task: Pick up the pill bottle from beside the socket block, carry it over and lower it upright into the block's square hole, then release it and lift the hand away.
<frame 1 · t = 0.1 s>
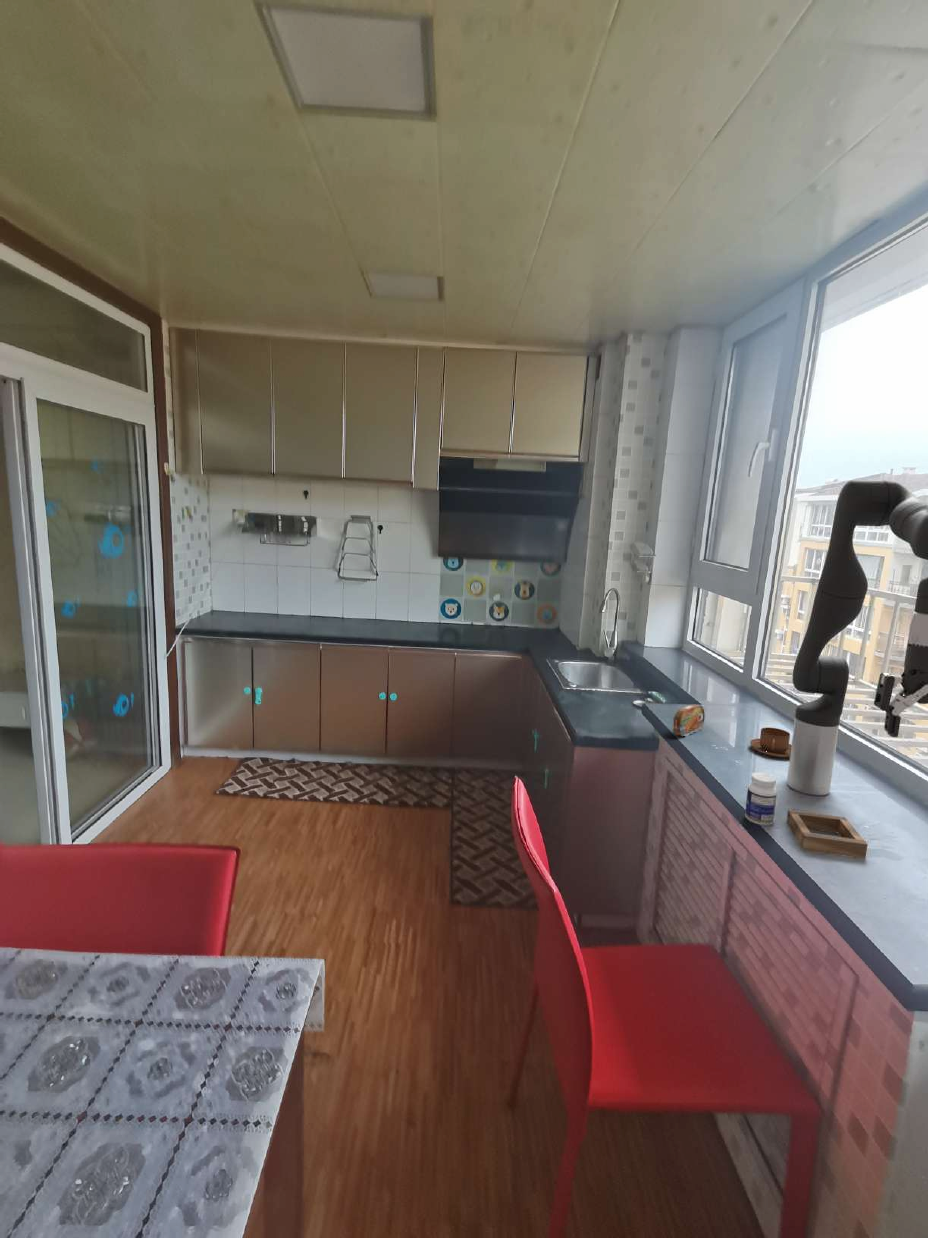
hand: (921, 738, 97), 29 cm above the table, tool pointing down, fingers open, 8 cm apart
socket block: (823, 839, 121), on the table
pill bottle: (758, 820, 129), on the table
tin: (687, 733, 181), on the table
cup and saucer: (772, 753, 168), on the table
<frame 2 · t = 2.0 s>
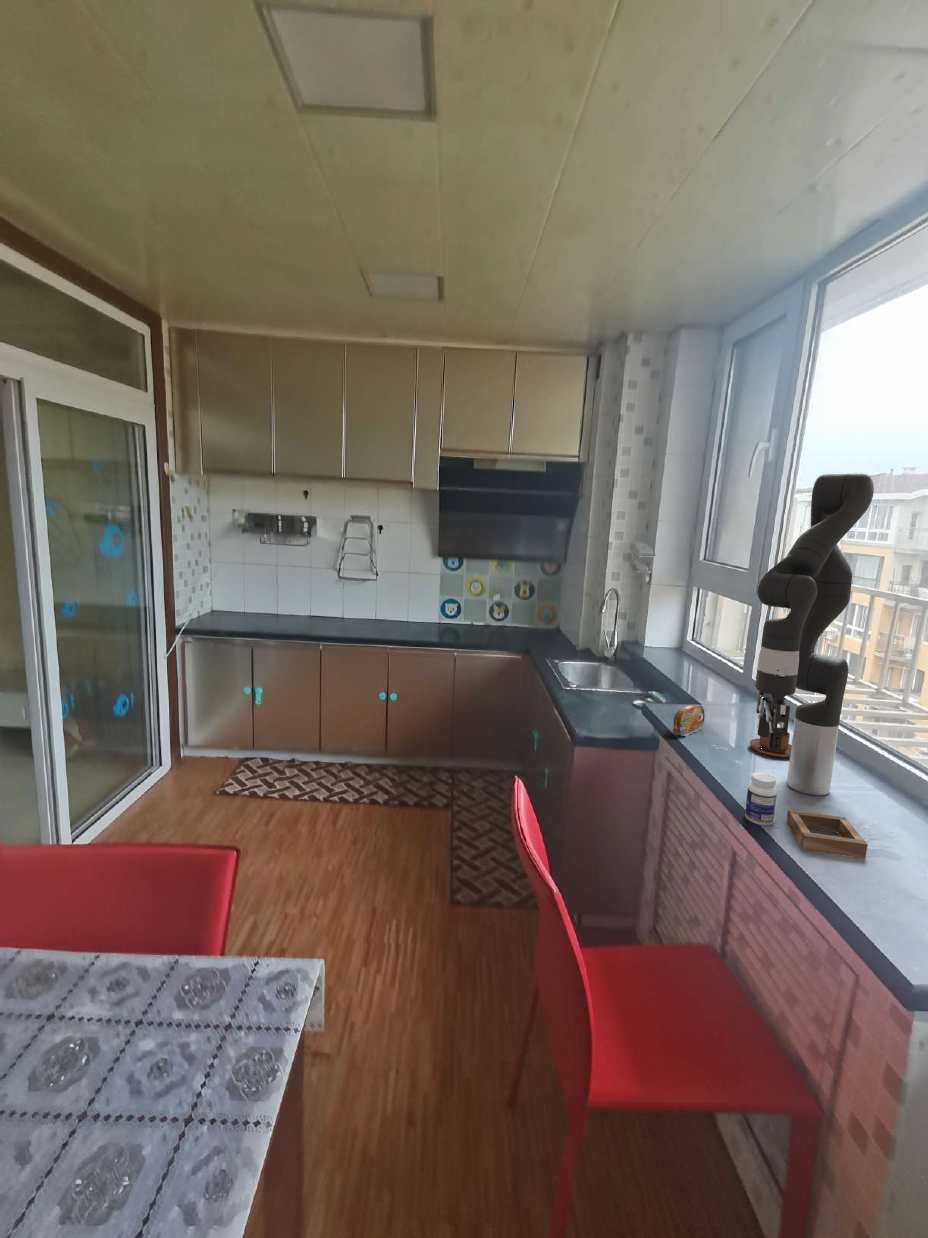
hand: (768, 743, 126), 17 cm above the table, tool pointing down, fingers open, 8 cm apart
nothing on the table moved.
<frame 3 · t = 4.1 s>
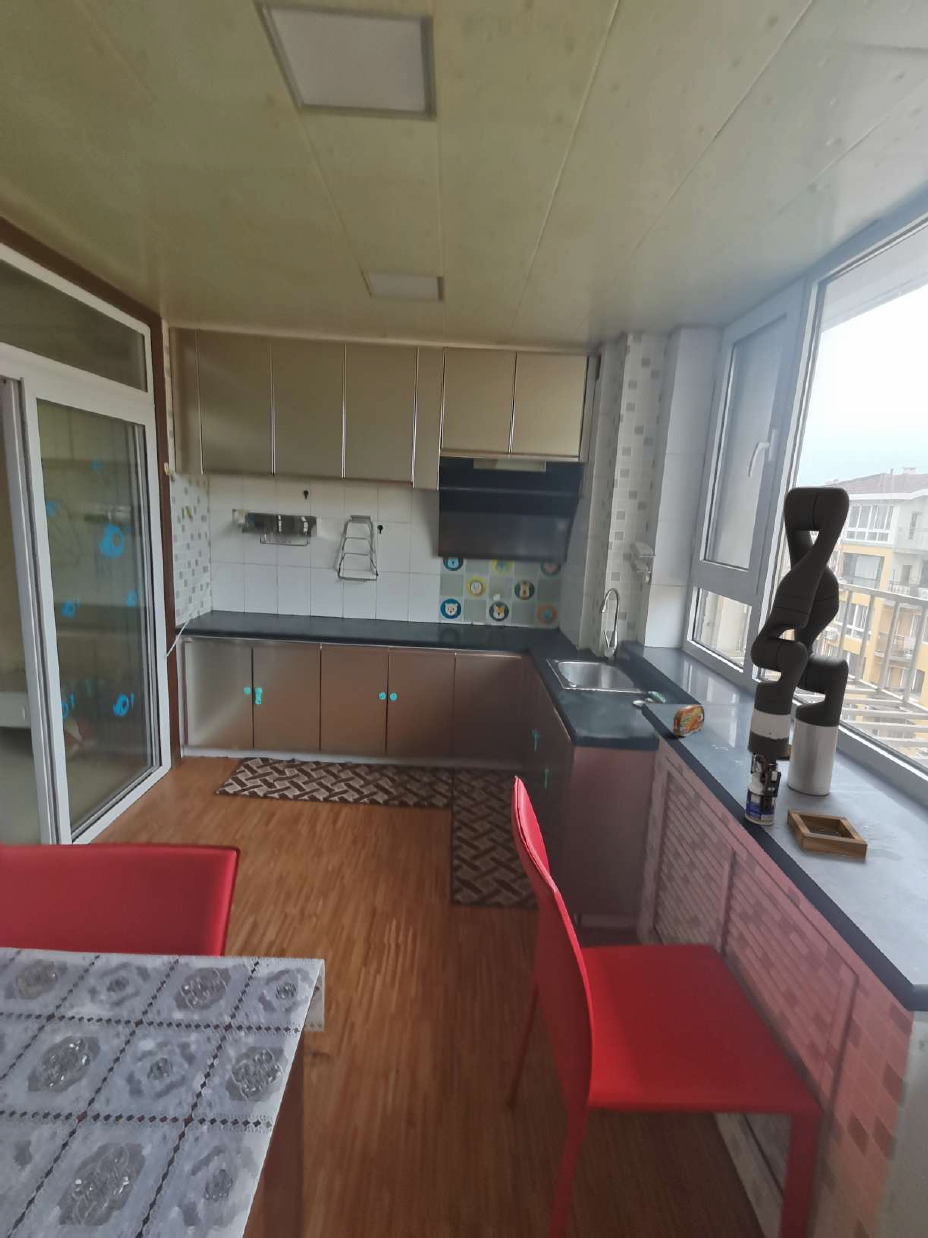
hand: (760, 804, 128), 4 cm above the table, tool pointing down, fingers closed on pill bottle, 5 cm apart
pill bottle: (758, 820, 129), on the table, touching gripper
everything else where it was.
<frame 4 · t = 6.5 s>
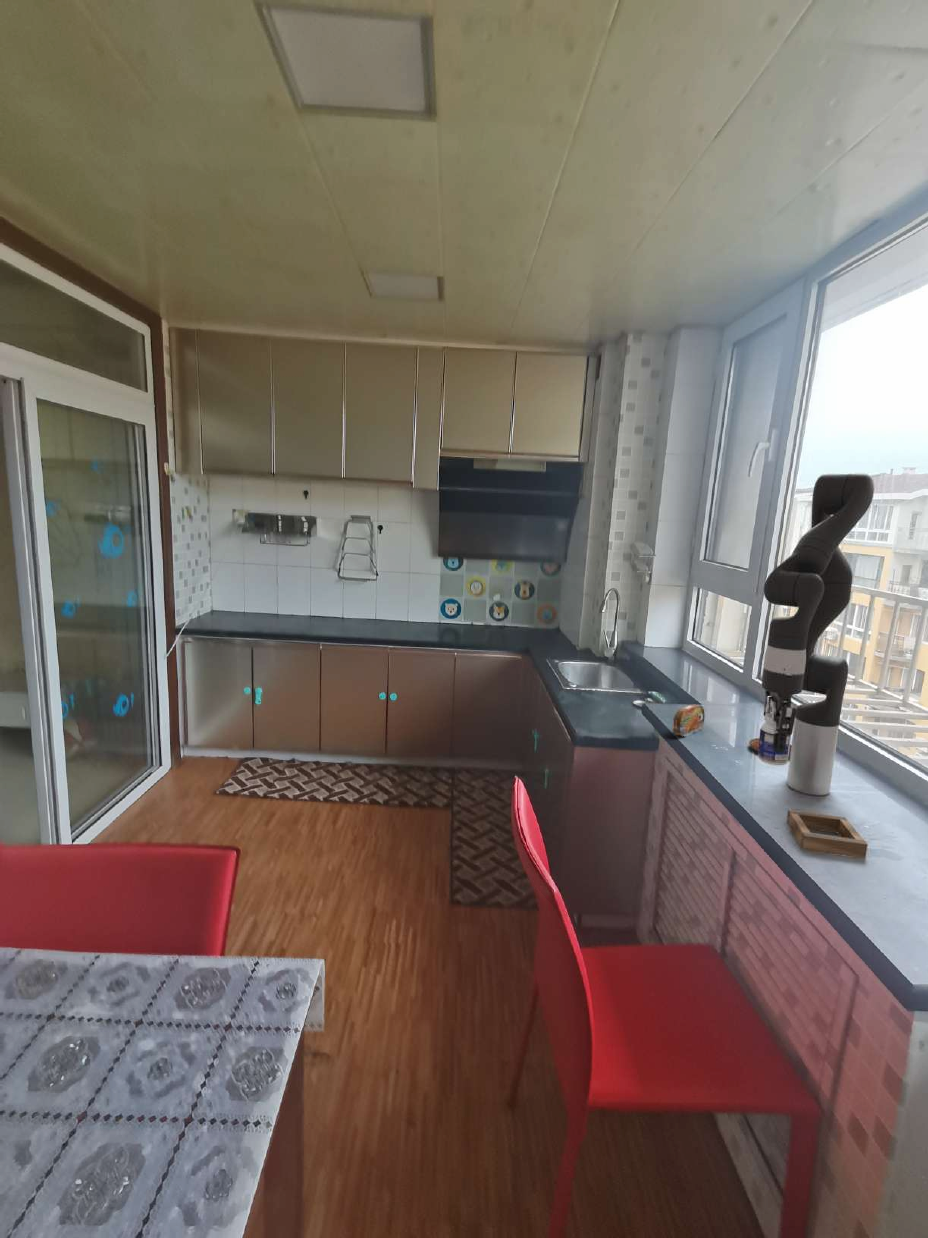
hand: (774, 744, 125), 17 cm above the table, tool pointing down, fingers closed on pill bottle, 5 cm apart
pill bottle: (772, 761, 126), point 14 cm above the table, touching gripper
everything else where it was.
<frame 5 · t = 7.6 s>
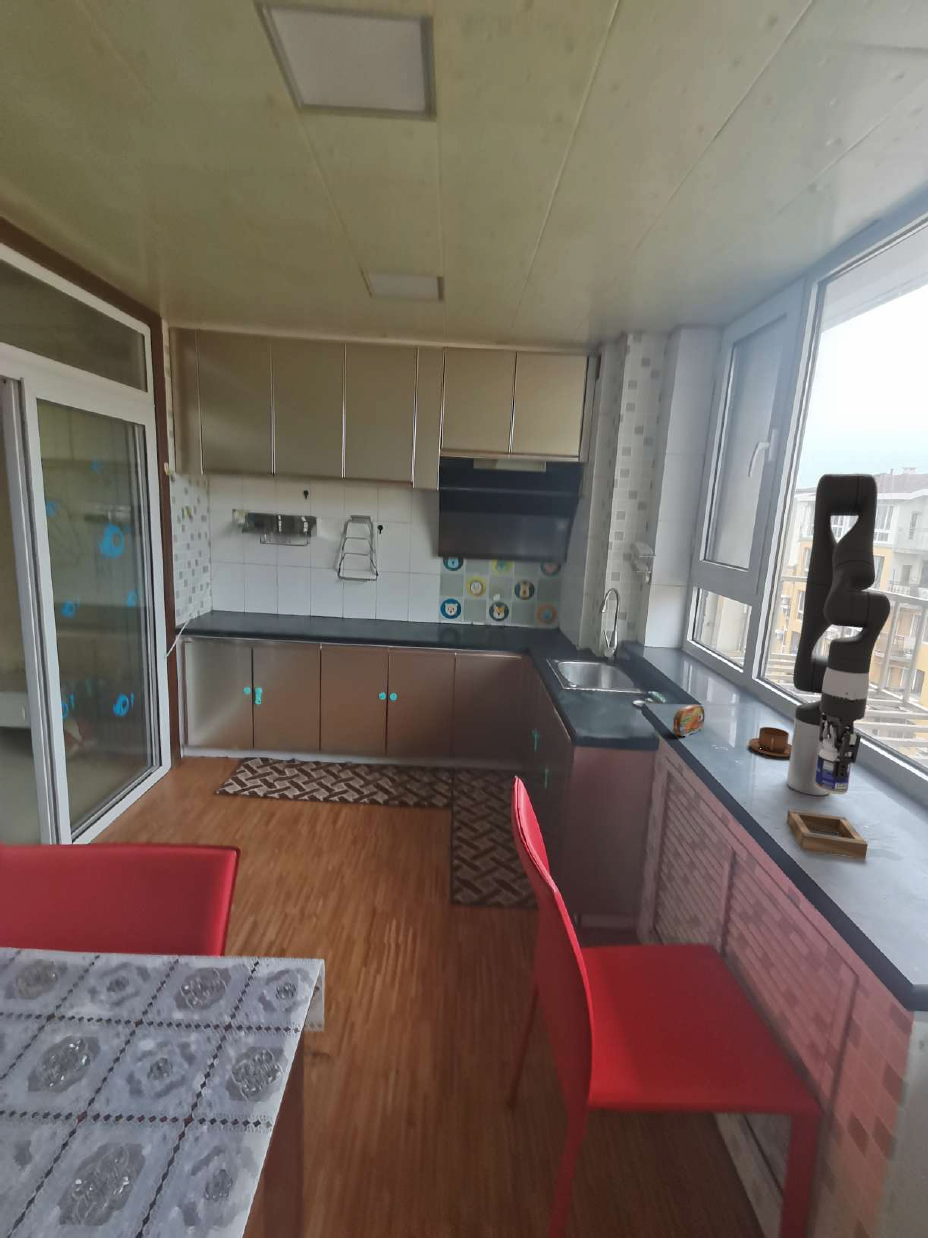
hand: (833, 772, 118), 15 cm above the table, tool pointing down, fingers closed on pill bottle, 5 cm apart
pill bottle: (830, 790, 119), point 11 cm above the table, touching gripper
everything else where it was.
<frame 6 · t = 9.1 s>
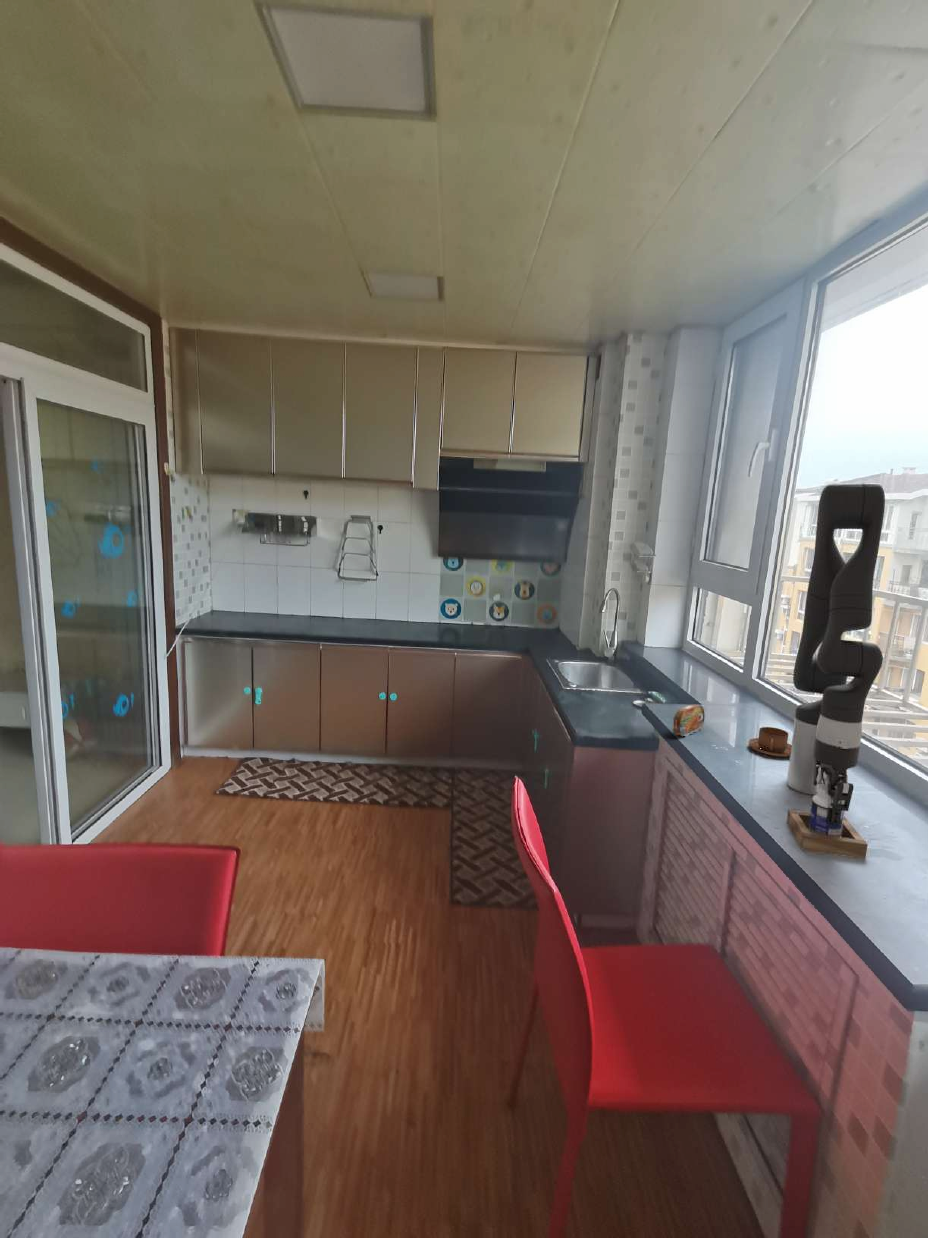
hand: (826, 817, 120), 5 cm above the table, tool pointing down, fingers closed on pill bottle, 5 cm apart
pill bottle: (824, 834, 121), point 1 cm above the table, touching gripper
everything else where it was.
when the fingers open (5 cm above the table, at t = 9.9 s): pill bottle drops 1 cm, resting in socket block.
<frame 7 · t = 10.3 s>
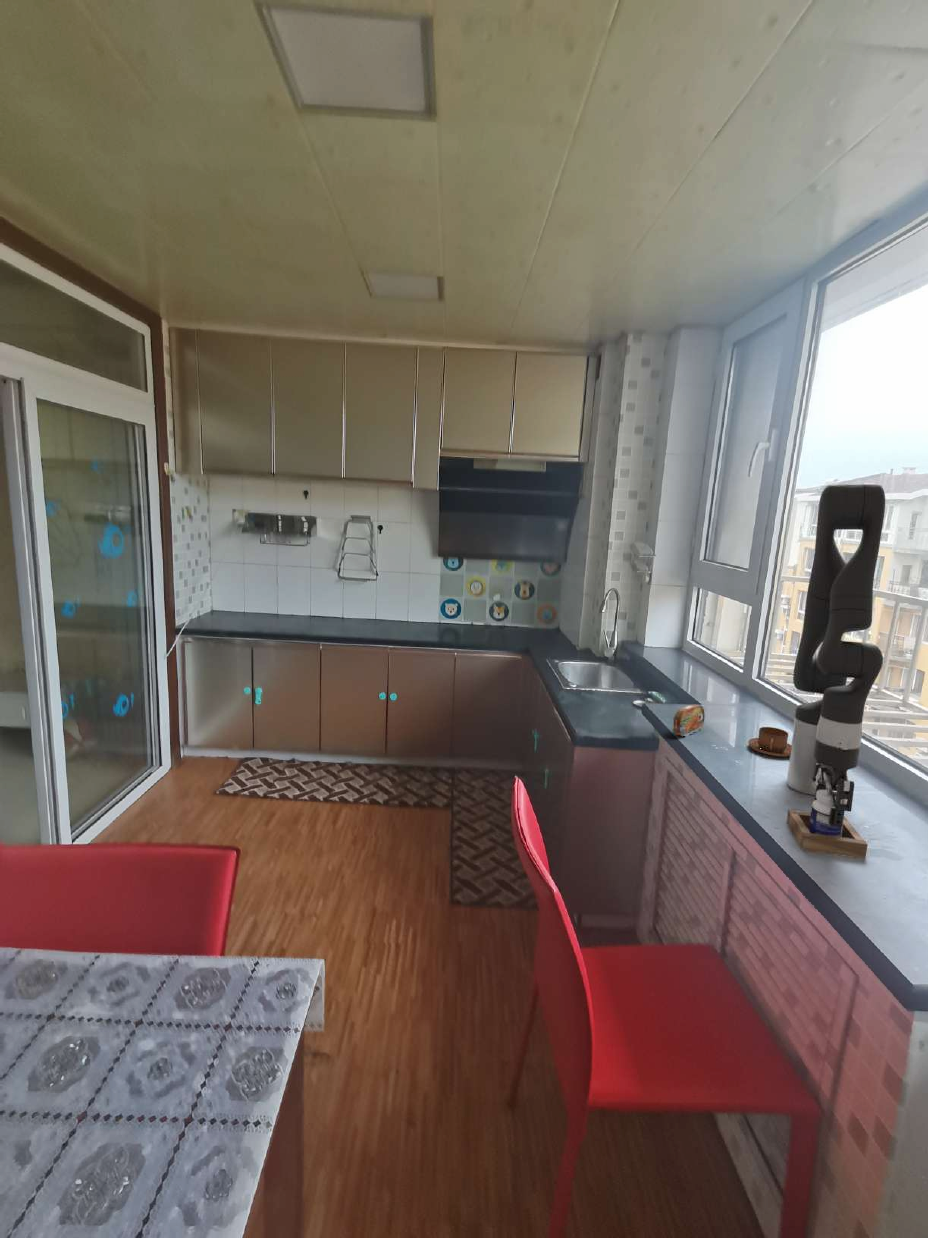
hand: (827, 815, 120), 5 cm above the table, tool pointing down, fingers open, 8 cm apart
pill bottle: (823, 840, 121), resting in socket block
everything else where it was.
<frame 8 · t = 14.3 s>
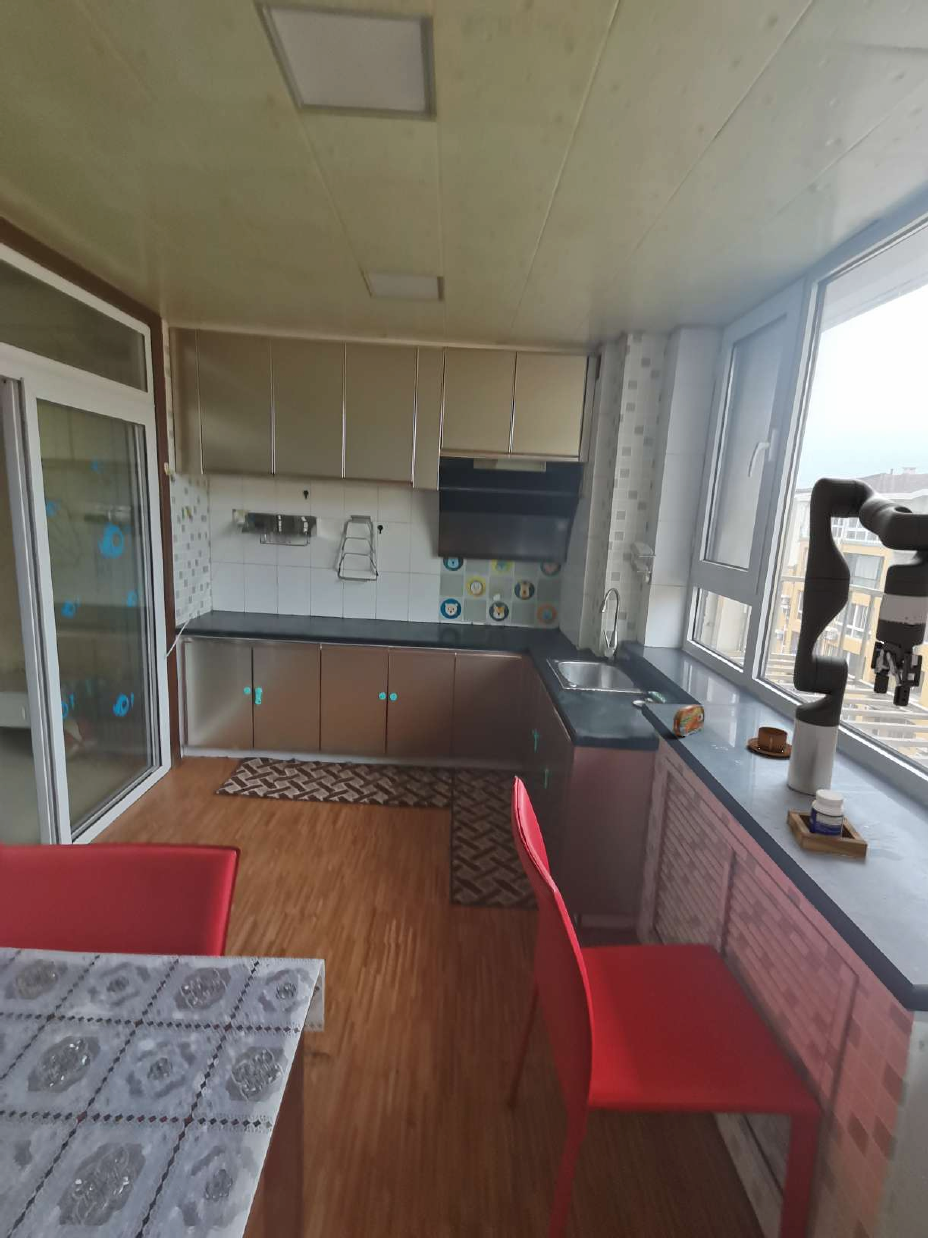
hand: (889, 699, 116), 30 cm above the table, tool pointing down, fingers open, 8 cm apart
nothing on the table moved.
at the end: pill bottle 0.1 cm off-centre on the socket block, point 0.0 cm above the socket block's base; pill bottle tilted 0°; the gripper is holding nothing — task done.
